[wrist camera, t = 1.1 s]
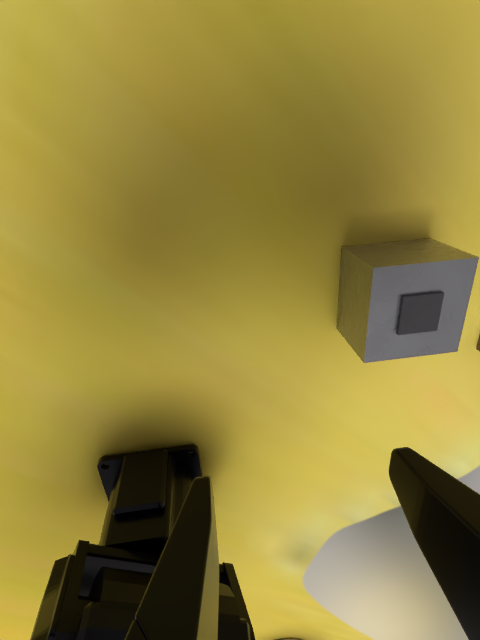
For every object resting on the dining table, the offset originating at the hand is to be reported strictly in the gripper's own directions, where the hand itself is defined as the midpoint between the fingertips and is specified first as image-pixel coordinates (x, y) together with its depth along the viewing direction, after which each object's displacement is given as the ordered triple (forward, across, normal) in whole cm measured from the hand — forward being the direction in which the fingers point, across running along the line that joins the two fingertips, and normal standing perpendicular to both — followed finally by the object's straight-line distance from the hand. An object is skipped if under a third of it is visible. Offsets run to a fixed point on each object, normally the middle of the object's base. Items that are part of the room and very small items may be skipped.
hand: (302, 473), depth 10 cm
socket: (+12, -8, 0) cm, 15 cm away
